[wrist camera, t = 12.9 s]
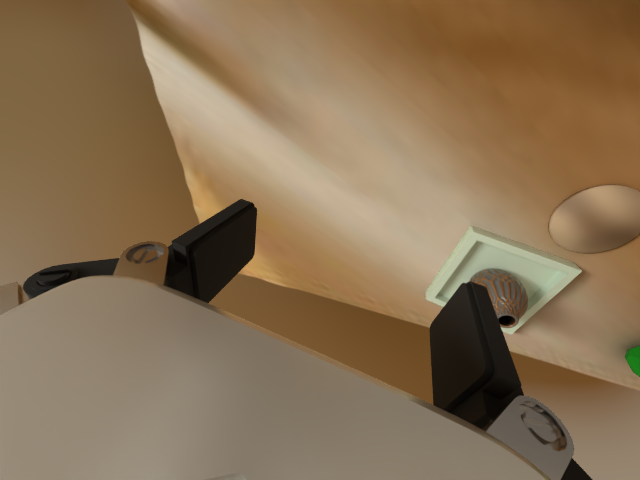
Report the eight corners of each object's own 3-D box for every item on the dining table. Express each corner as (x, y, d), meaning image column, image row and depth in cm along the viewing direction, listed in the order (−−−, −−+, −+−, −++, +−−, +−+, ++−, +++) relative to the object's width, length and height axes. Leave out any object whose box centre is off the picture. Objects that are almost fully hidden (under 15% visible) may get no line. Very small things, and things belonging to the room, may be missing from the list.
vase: (528, 279, 36) (557, 324, 29) (488, 304, 40) (504, 348, 33) (490, 252, 36) (509, 290, 29) (453, 279, 40) (462, 319, 32)
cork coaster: (585, 174, 29) (588, 175, 28) (672, 200, 27) (676, 201, 27) (531, 236, 34) (533, 237, 33) (603, 261, 32) (605, 263, 32)
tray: (470, 225, 36) (473, 231, 34) (573, 262, 33) (582, 271, 32) (425, 291, 43) (426, 299, 41) (507, 325, 41) (511, 334, 39)
